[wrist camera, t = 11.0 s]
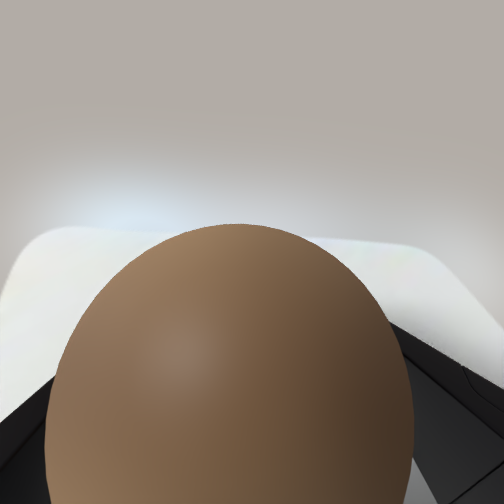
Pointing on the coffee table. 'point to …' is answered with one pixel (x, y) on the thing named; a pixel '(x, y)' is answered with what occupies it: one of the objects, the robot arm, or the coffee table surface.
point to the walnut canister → (231, 381)
